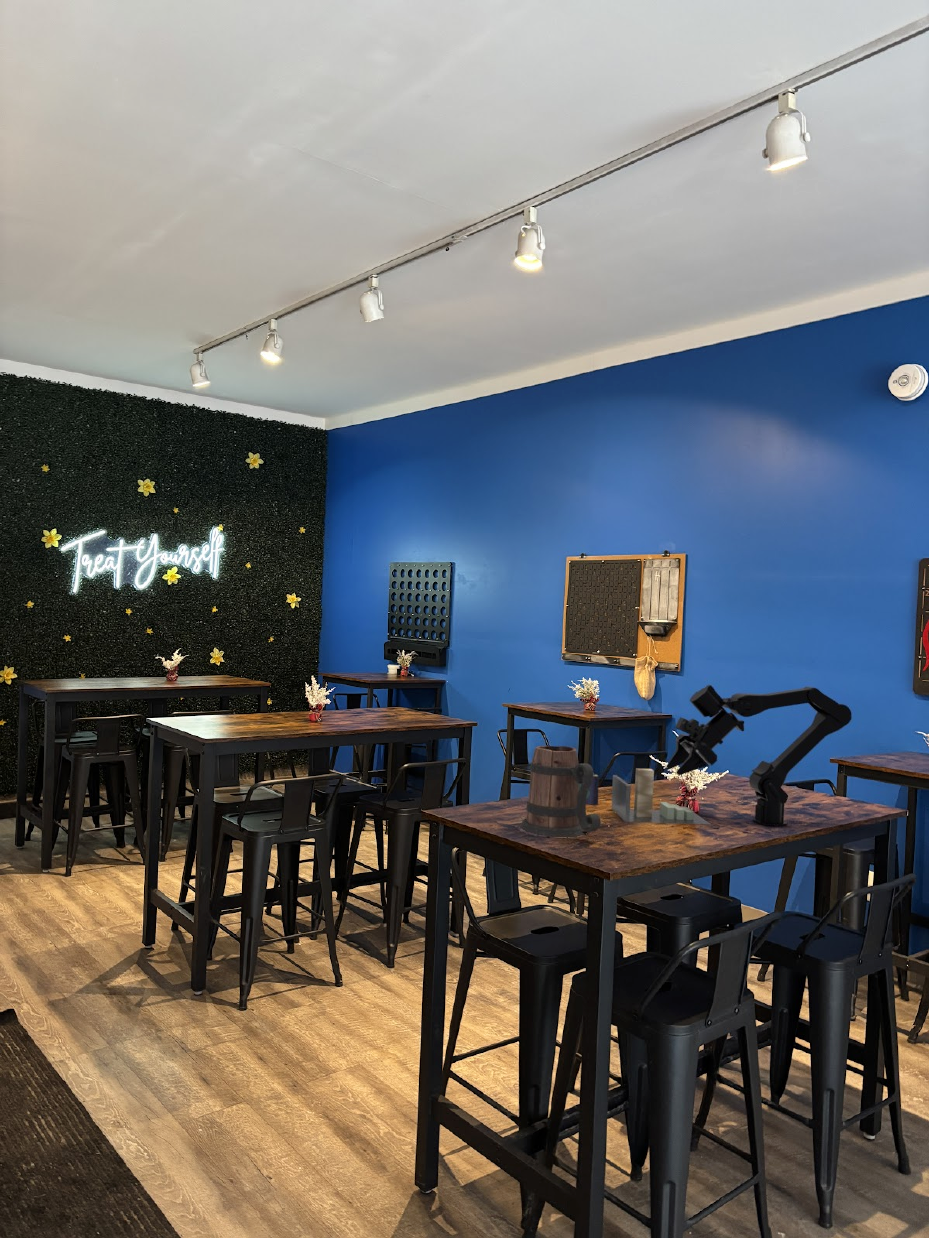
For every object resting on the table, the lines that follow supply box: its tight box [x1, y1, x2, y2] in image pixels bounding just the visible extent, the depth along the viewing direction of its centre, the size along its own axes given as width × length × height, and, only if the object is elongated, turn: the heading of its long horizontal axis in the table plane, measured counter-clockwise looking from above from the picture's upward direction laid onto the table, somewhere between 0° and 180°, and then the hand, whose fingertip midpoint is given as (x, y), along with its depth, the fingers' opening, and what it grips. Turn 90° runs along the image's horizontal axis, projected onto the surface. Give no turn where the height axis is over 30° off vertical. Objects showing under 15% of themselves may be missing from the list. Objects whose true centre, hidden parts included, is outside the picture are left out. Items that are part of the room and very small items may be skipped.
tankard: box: [519, 745, 602, 838], centre depth 222 cm, size 24×17×20 cm
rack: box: [611, 774, 712, 825], centre depth 242 cm, size 22×16×10 cm
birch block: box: [633, 767, 655, 817], centre depth 242 cm, size 4×3×12 cm
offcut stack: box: [659, 801, 695, 820], centre depth 242 cm, size 7×7×3 cm
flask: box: [579, 769, 600, 806], centre depth 256 cm, size 9×3×11 cm, turn 65°
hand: (672, 770), depth 242 cm, fingers open, 9 cm apart
